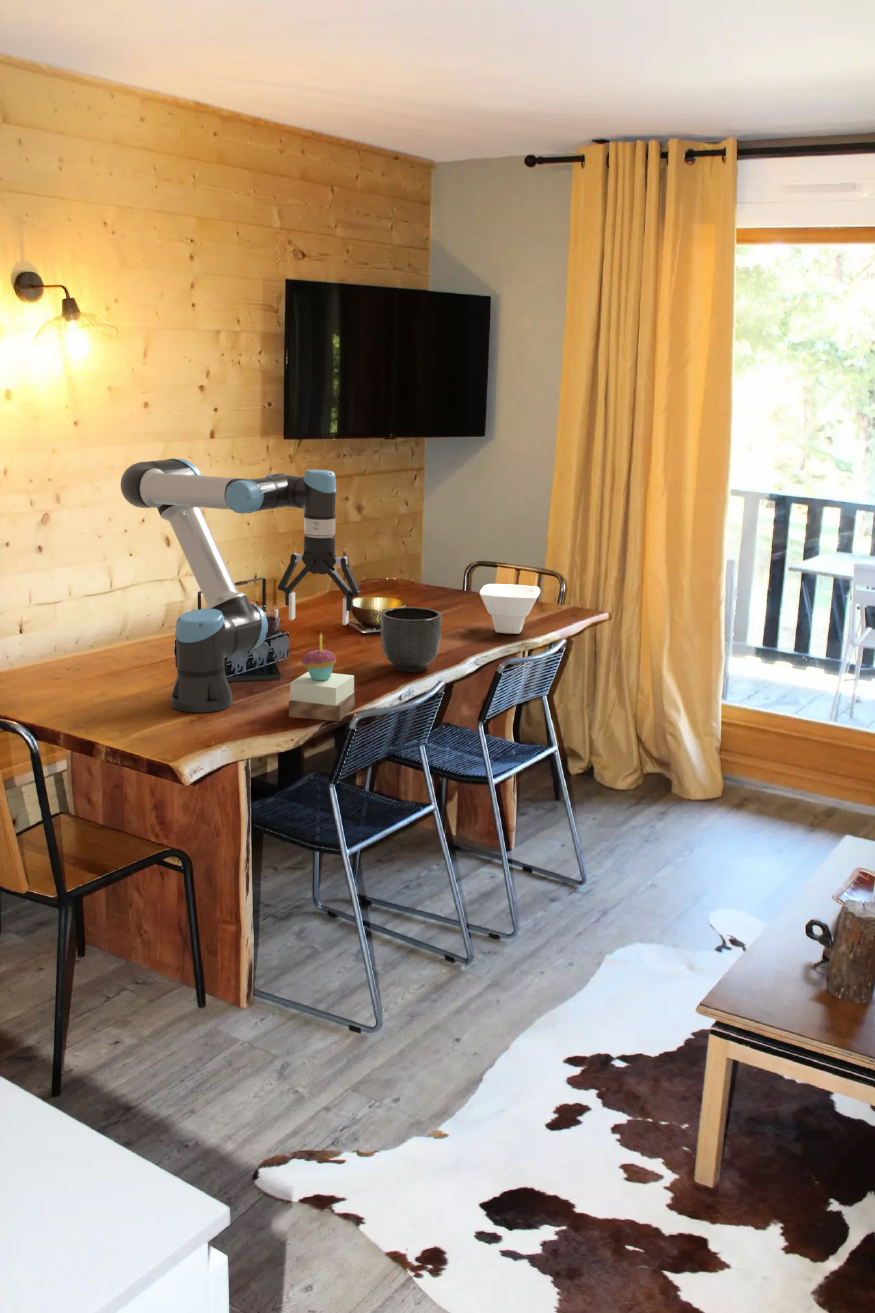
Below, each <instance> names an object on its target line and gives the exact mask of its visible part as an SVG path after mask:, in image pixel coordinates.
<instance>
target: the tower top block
mask: <svg viewBox="0 0 875 1313" xmlns="http://www.w3.org/2000/svg"><path fill="white" fill-rule="evenodd" d="M289 686H290V687H289V691H290V692H289V693H290V694H289V695H290V696H289V698H290V699H289V701H290V700H292V701H300V702H308V703H317V704H325V705H333V706H336V705H338V704H339V703H340V702H342V701H343V700H345V699H346V698H347V697H349V696H350V695H351V694H353V693H354V691H355V675H353V674H344V673H335V672H332V673H331V677H330V678H329V679H326V680H313V679H312V678H311V676H310V674H309V672H308V671H307V672H305V673H303V674H302V675H301V676H299V677H297V678H295V679H294V680H292V681H291V682H290V683H289Z"/></svg>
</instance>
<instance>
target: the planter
mask: <svg viewBox="0 0 875 1313" xmlns="http://www.w3.org/2000/svg"><path fill="white" fill-rule="evenodd" d="M442 622H443V616H442V613H441V612H440V611H438V610H436V609H431V608H427V607H419V606H416V607H415V606H402V607H392V608H388V609H385V610H382V612H381V613H380V637H381V647H382V650H383V654H384V656H385V658H386V659H387V660H388V661H389V662H390V664H392V665H393V668H394V669H395V670H396V669H397V670H396V671H400V672H403V673H418V672H423V671H425V670H426V669H427V668H428V666H429V665H430V664H432V662H433V661H434V660H435V658H436V657H437V655H438V653H439V649H440V645H441V639H442V629H443V628H442V624H443V623H442Z"/></svg>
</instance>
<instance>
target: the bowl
mask: <svg viewBox="0 0 875 1313" xmlns="http://www.w3.org/2000/svg"><path fill="white" fill-rule="evenodd" d="M540 593H541V589H540V587H539V586H533V585H526V584H525V585H522V584H509V583H507V584H505V583H503V584H502V583H488V584H485V585H483V586H482V588H481V589H480V591H479V595H480V598H481V600H482V602H483V604H484V606H485V609H486V610H487V613H488V614H489V615H491V619H492V623H493V624H492V625H493V628H494V631H495V633H499V634H500V633H501V634H512V635H513V634H521V632H522V631H523V627H524V624H525V621H526V617H527V616H529V614H530V612H531V611H532V609H533V607H534V605H535V603H536V601H537V600H538V597H539V596H540Z"/></svg>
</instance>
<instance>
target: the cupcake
mask: <svg viewBox="0 0 875 1313" xmlns="http://www.w3.org/2000/svg"><path fill="white" fill-rule="evenodd" d="M300 661H301V662H300V664H301V666H303V668H305V669H306V670H307V672H309V674H310V676H311V678H312V679H313V680H326V679H329V678H330V677H331V673H333V668H334V665H335V664H336V662H337V658H336V655H335V653H333V652H332V651H331V650H328V649H325V648H323V633H322V631H321V632H320V634H319V649H313V650H310V651H307V653H306V654H304V655H303V657H302V658H301V660H300Z"/></svg>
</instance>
